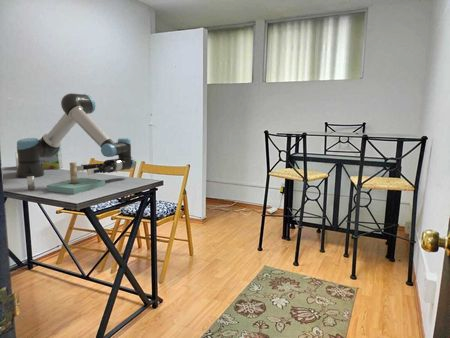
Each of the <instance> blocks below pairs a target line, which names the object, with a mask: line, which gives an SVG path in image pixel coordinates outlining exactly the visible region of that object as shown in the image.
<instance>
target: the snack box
mask: <svg viewBox="0 0 450 338" xmlns="http://www.w3.org/2000/svg"><path fill="white" fill-rule="evenodd" d="M62 157H63V156H62V148H61V147H60V151H59V152H58V153H57V154H56V155H53V156H48V157H41V158H40V164H41V166H42V168H45V169H44V170H46V169H47V170H50V169H51V170H61V169H63V158H62Z"/></svg>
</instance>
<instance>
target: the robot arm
mask: <svg viewBox="0 0 450 338" xmlns="http://www.w3.org/2000/svg"><path fill="white" fill-rule="evenodd" d="M60 105H61V109H62V110H63V112H64V114H63V115H62V116H61V118H59V120H58V121H57V123H55V125H54V126H53V127H52V128H51V130H50V131H49V132H48V133H45V134H43V135H42V137H41V138H39V139H38V138H37V137H28V138H22V139H19V140H17V141H16V152H17V153H18V167H16V173H15V177H16V178H21V179H22V178H24V179H25V178H26V179H27V176H34V178H36V177H41V176H45V171H44V169H43V168H42V166H41V164H40V158H41V157H48V156H53V155H56V154H57V153H58V152H59V151H60V148H61V145H62V144H61V143H62V141H63V139H64V138H65V137H66V136H67V134H68V133H69V132H70V131H71V129H73V127H74V126H75V125H76V124H78V126H79V127H80V128H81V129H82V130H83V131H84V132H85V133H86V134H87V135H88V136H89V137H90V138H91V139H92V140H93V141H94V142H95V144H97V146H99V147H100V152H101V155H102V156H103V157H106V158H111V157H115V156H118V157H117V158H112V159H106V160H104V161H103V163H102V162H101V163H89V164H80V165H76V166H77V172H80V171H82V172H83V171H85V170H86V171H87V175H94V174H105V173H106V174H108V173H109V174H111V173H114V172H115V173H118V172H120V171H126V170H127V171H128V170H131V169H134V168H135V167H136V161H135V158H134V157H132V147H131V146H132V142H131V139H130V138H128V137H127V138H126V137H124V138H123V137H121V138H120V137H119V138H118V139H117V142H114V141H113V140H112V139H111V137H109V135H107V133H105V132H104V130H103V129H101V127H100V126H99V125H98V124H97V123H96V122H95V121H94V120H93V119H92V118H91V117H90V116H89V115H88V114H92V113H94V112H95V110H96V102H95V99H94V98H93V97H92V96H91V95H90V94H85V93H84V94H82V93H71V92H70V93H68V94H65V95H64V96H63V97H62V98H61V100H60Z"/></svg>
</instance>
